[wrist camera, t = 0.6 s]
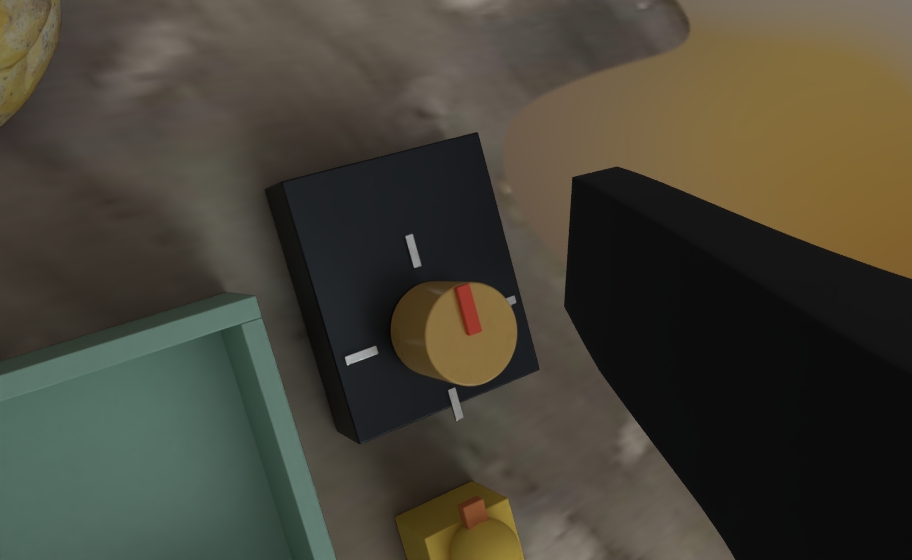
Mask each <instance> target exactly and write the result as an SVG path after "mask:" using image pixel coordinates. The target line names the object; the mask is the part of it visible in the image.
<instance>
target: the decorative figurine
mask: <svg viewBox="0 0 912 560" xmlns="http://www.w3.org/2000/svg"><path fill="white" fill-rule="evenodd" d="M60 32H61V6H60V0H0V126H2V125H3V124H4V123H5V122H6V121H7V120H8V119H9V118H11V117H12V116H13V115H14V114H15V113H16V112H17V111H18V110H19V109H20V108H21V107H22V106H23V105H24V104H25V102H26V101H27V99H28V98H29V97H30V95H31V94H32V92H33V91H34V89H35V88H36V86H37V85H38V83H39V81H40V80H41V78H42V76H43V75H44V73H45V71H46V69H47V67H48V65H49V63H50V60H51V58H52V56H53V54H54V52H55V49H56V47H57V45H58V43H59V37H60Z"/></svg>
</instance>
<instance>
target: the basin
mask: <svg viewBox="0 0 912 560" xmlns="http://www.w3.org/2000/svg"><path fill="white" fill-rule="evenodd" d="M261 316H262V315H261V312H260V309H259V305H258V302H257V299H256V296H252V295H244V294H236V293H223V294H219V295H216V296H213V297H210V298H206V299H203V300H200V301H196V302H193V303H190V304H187V305H183V306H180V307H177V308H174V309H170V310H167V311H164V312H160V313H157V314H154V315H151V316H147V317H144V318H141V319H137V320H134V321H131V322H128V323H124V324H121V325H118V326H114V327H111V328H108V329H105V330H101V331H98V332H95V333H92V334H88V335H85V336H82V337H78V338H75V339H72V340H69V341H65V342H62V343H59V344H55V345H52V346H49V347H46V348H42V349H39V350H36V351H33V352H29V353H26V354H23V355H19V356H16V357H13V358H10V359H6V360H3V361H0V560H337V559H336V556H335V553H334V549H333V546H332V543H331V540H330V536H329V533H328V530H327V527H326V523H325V520H324V517H323V514H322V510H321V507H320V504H319V501H318V497H317V494H316V491H315V488H314V484H313V481H312V478H311V475H310V471H309V468H308V465H307V462H306V458H305V455H304V452H303V449H302V445H301V442H300V439H299V436H298V432H297V429H296V426H295V423H294V419H293V416H292V413H291V410H290V406H289V403H288V400H287V397H286V393H285V390H284V387H283V384H282V380H281V377H280V374H279V371H278V367H277V364H276V361H275V358H274V354H273V351H272V348H271V345H270V341H269V338H268V335H267V332H266V328H265V325H264V322H263V319H262V318H261Z"/></svg>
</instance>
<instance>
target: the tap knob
mask: <svg viewBox="0 0 912 560" xmlns="http://www.w3.org/2000/svg"><path fill="white" fill-rule="evenodd" d="M391 339H392V344H393V347H394V349H395V352H396V353H397V355H398V357H399V358H400V360H401V361H402V362H403V363H404V364H405V365H406V366H407V367H408V368H409V369H411V370H413V371H414V372H417V373H419V374H422V375H426V376H429V377H433V378H436V379H440V380H443V381H447V382H450V383H454V384H457V385H461V386H476V385H481V384H484V383H486V382H488V381H490V380H492V379H493V378H495V377H496V376H497V375H499V374H500V373H501V372H502V371H503V370H504V368H505V367H506V366H507V364H508V363H509V361H510V359H511V358H512V355H513V353H514V350H515V346H516V341H517V324H516V319H515V315H514V312H513V310H512V308H511V306H510V304H509V303H508V301H507V300H506V299H505V297H504V296H503V295H502V294H501V293H500V292H499V291H497V290H496V289H494V288H493V287H491V286H489V285H486V284H483V283H478V282H450V281H430V282H425V283H422V284H419V285H417V286H415V287H413V288H412V289H410V290H409V291H408V292H407V293H406V294H405V295H404V296H403V297H402V298H401V300H400V301H399V303H398V304H397V306H396V308H395V310H394V313H393V316H392V321H391Z"/></svg>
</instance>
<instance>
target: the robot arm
mask: <svg viewBox="0 0 912 560" xmlns="http://www.w3.org/2000/svg"><path fill="white" fill-rule="evenodd" d="M569 225H570V226H569V239H568V255H567V270H566V286H565V302H564V307H565V309H566V311H567V313H568V314H569V316H570V318H571V320H572V322H573V324H574V326H575V328H576V330H577V332H578V333H579V335H580V337H581V339H582V341H583V343H584V345H585V346H586V348H587V350H588V352H589V353H590V355H591V357H592V359H593V360H594V362H595V364H596V366H597V367H598V369H599V371H600V372H601V373H602V375H603V376H604V378H605V379H606V380H607V382H608V383H609V385H610V386H611V387H612V389H613V390H614V391H615V393H616V394H617V395H618V397H619V398H620V400H621V401H622V402H623V404H624V405H625V406H626V408H627V409H628V410H629V412H630V413H631V414H632V416H633V417H634V418H635V420H636V421H637V422H638V424H639V425H640V426H641V428H642V429H643V430H644V432H645V433H646V434H647V436H648V437H649V438H650V440H651V441H652V442H653V444H654V445H655V446H656V448H657V449H658V450H659V452H660V453H661V454H662V456H663V457H664V458H665V460H666V461H667V462H668V464H669V465H670V466H671V468H672V469H673V470H674V472H675V473H676V474H677V476H678V477H679V478H680V480H681V481H682V482H683V484H684V485H685V486H686V488H687V489H688V490H689V492H690V493H691V494H692V496H693V497H694V498H695V499H696V501H697V502H698V503H699V505H700V506H701V508H702V509H703V510H704V512H705V513H706V515H707V516H708V518H709V519H710V521H711V522H712V524H713V525H714V526H715V528H716V529H717V531H718V532H719V534H720V535H721V537H722V538H723V540H724V541H725V543H726V545H727V546H728V548H729V550H730V551H731V553H732V555H733V556H734V558H735V560H912V279H910V278H907V277H903V276H900V275H897V274H894V273H891V272H888V271H885V270H882V269H879V268H877V267H874V266H871V265H868V264H865V263H863V262H860V261H857V260H854V259H851V258H848V257H846V256H843V255H840V254H837V253H835V252H832V251H829V250H826V249H823V248H821V247H818V246H815V245H813V244H810V243H808V242H805V241H803V240H800V239H797V238H795V237H792V236H789V235H787V234H785V233H782V232H780V231H777V230H775V229H772V228H770V227H767V226H765V225H762V224H760V223H758V222H755V221H752V220H750V219H748V218H745V217H743V216H741V215H738V214H736V213H734V212H731V211H729V210H726V209H724V208H721V207H719V206H717V205H714V204H712V203H710V202H707V201H705V200H702V199H700V198H698V197H695V196H693V195H691V194H688V193H686V192H684V191H681V190H679V189H676V188H674V187H671V186H669V185H666V184H664V183H662V182H659V181H657V180H654V179H651V178H649V177H646V176H644V175H641V174H638V173H635V172H632V171H630V170H626V169H623V168H620V167H613V168H609V169H605V170H601V171H596V172H592V173H588V174H584V175H579V176H575V177H573V178H572V194H571V208H570V224H569Z"/></svg>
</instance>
